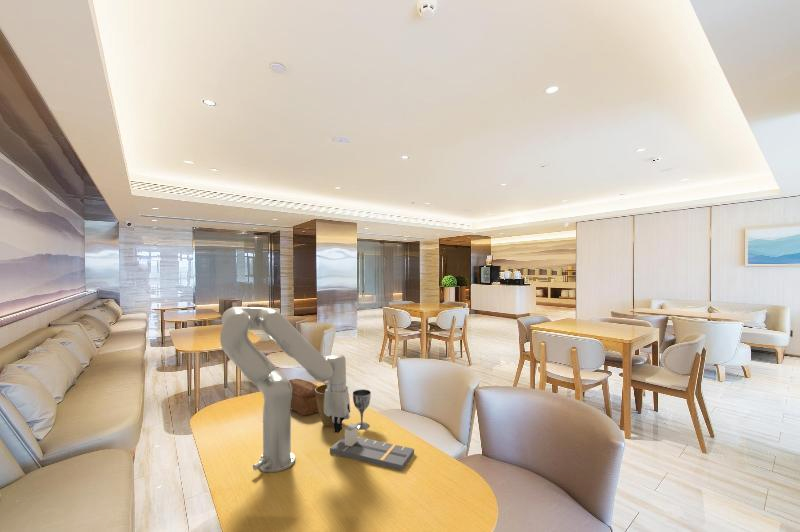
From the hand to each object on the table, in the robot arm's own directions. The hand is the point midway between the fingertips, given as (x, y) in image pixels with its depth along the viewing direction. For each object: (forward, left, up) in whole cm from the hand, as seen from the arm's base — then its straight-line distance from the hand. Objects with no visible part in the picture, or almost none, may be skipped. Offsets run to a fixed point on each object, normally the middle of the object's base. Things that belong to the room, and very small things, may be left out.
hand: (338, 431), depth 140 cm
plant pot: (+15, +13, -6) cm, 21 cm away
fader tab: (-1, -7, -3) cm, 7 cm away
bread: (+26, +38, -6) cm, 47 cm away
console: (-1, -16, -5) cm, 16 cm away
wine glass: (+18, -1, -6) cm, 19 cm away
